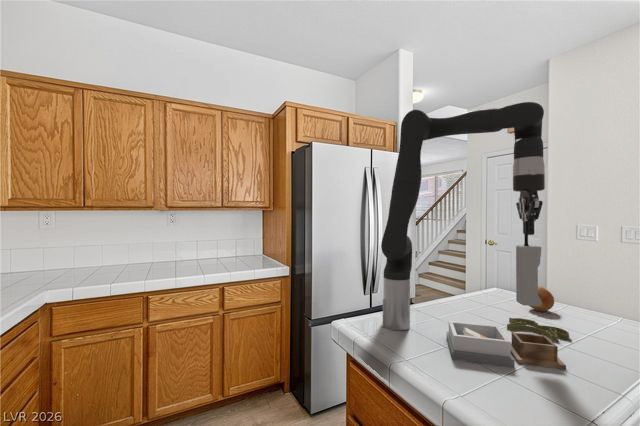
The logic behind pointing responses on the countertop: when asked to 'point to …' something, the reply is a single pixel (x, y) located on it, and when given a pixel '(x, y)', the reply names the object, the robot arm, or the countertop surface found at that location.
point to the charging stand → (535, 350)
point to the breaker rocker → (472, 333)
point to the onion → (544, 300)
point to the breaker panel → (480, 344)
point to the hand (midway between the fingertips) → (528, 234)
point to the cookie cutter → (538, 329)
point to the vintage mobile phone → (527, 274)
